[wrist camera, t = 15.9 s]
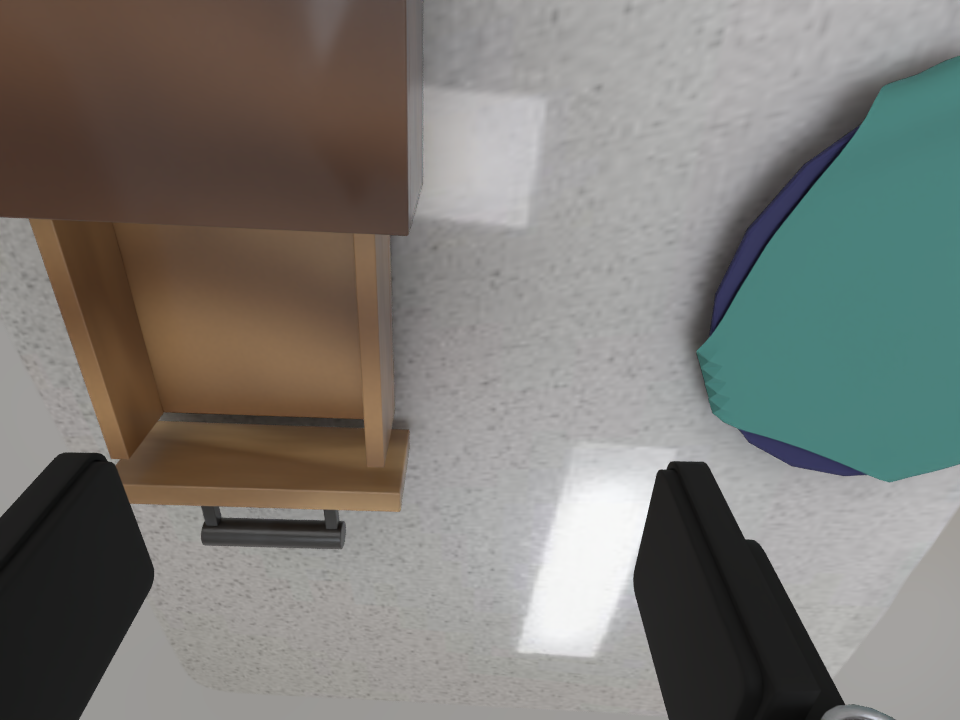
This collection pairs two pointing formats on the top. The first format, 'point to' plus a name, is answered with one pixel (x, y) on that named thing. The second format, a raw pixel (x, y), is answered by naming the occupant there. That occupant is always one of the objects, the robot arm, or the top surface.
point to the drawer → (236, 368)
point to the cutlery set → (853, 298)
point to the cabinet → (213, 113)
